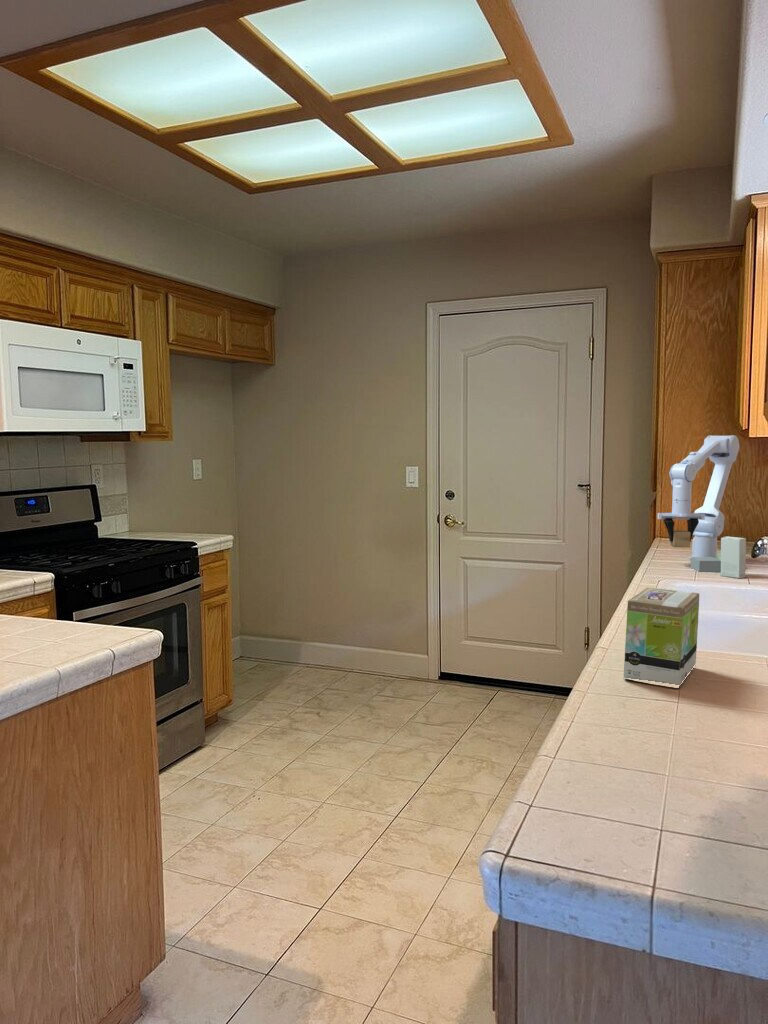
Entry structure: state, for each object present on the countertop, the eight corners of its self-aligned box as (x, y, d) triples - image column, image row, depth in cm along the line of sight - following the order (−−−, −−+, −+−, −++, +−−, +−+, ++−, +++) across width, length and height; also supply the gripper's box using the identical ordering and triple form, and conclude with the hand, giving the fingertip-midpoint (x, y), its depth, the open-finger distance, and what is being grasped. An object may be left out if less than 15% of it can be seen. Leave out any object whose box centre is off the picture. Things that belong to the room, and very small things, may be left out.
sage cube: (715, 567, 249) (715, 552, 248) (730, 567, 249) (730, 552, 249) (722, 569, 244) (723, 554, 243) (737, 569, 244) (738, 554, 244)
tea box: (681, 691, 130) (684, 606, 128) (622, 681, 135) (624, 599, 133) (697, 668, 142) (700, 590, 141) (642, 659, 148) (644, 585, 146)
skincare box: (745, 577, 231) (747, 537, 230) (738, 578, 228) (740, 539, 227) (726, 574, 236) (727, 535, 235) (719, 576, 233) (720, 537, 232)
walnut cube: (670, 545, 252) (670, 530, 252) (685, 545, 251) (686, 530, 251) (673, 547, 247) (674, 532, 247) (689, 547, 246) (690, 532, 246)
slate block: (690, 569, 246) (690, 557, 246) (711, 569, 246) (712, 557, 246) (699, 573, 239) (699, 560, 239) (721, 573, 239) (721, 560, 239)
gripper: (661, 501, 245) (660, 542, 246) (708, 501, 243) (706, 543, 244) (656, 499, 252) (655, 539, 253) (702, 499, 250) (700, 540, 251)
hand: (680, 541), depth 249 cm, fingers closed on walnut cube, 5 cm apart
